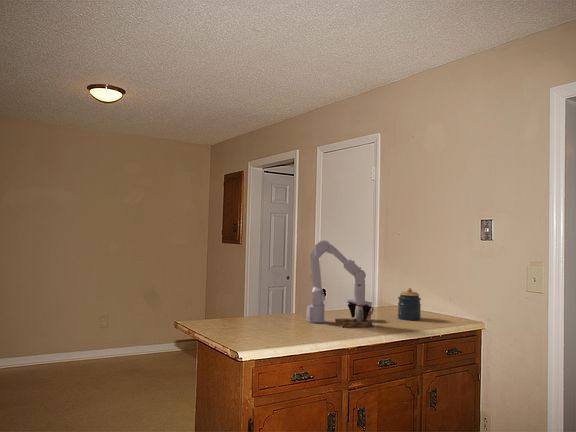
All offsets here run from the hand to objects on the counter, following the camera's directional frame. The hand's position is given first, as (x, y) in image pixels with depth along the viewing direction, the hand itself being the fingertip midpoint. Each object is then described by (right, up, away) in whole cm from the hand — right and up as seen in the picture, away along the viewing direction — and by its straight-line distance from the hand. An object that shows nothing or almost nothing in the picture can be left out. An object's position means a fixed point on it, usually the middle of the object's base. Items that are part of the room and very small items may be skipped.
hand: (359, 318), depth 259 cm
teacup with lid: (+5, -4, +15) cm, 16 cm away
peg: (0, -3, 0) cm, 3 cm away
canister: (+32, -5, +23) cm, 40 cm away
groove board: (-3, -3, -3) cm, 5 cm away
